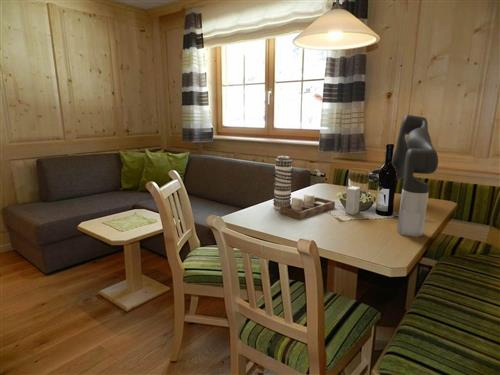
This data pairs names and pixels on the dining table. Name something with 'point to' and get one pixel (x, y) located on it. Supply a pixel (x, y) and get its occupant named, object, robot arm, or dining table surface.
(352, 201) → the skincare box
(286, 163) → the grey striped cylinder
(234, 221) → the dining table surface
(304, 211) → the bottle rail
